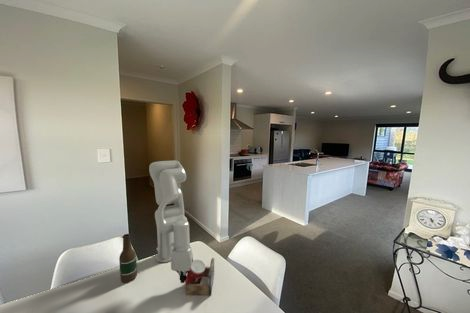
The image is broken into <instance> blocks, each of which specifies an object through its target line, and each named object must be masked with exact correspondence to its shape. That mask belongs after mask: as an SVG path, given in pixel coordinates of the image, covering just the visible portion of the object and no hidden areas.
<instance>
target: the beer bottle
mask: <svg viewBox="0 0 470 313" xmlns="http://www.w3.org/2000/svg"><path fill="white" fill-rule="evenodd" d="M121 238H122V251H121V253H120V254H119V258H118V259H119V261H118V262H119V273H120V275H119V276H120V280H121V283H122V284H123V283H124V284H127V283H130V282H133V281H134V280H135V279H136V277H137V275H138V268H137V267H138V266H137V264H138V263H137V253H136V252H135V250H134V249H133V248H132V242H131V234H130V233H126V234H123V235H122V237H121Z"/></svg>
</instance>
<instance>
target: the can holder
mask: <svg viewBox="0 0 470 313" xmlns="http://www.w3.org/2000/svg"><path fill="white" fill-rule="evenodd" d="M202 278H207V280H208V281H207V283H200V284H186V285H185V296H186V297H187V296H191V297H192V296H204V297H205V296H208V297H210V296H212V294H213V285H214V280H215V258H214V257H212V258H211V260H210V265H209V266H205V271H204V274H203V277H202Z"/></svg>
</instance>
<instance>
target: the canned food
mask: <svg viewBox="0 0 470 313" xmlns="http://www.w3.org/2000/svg"><path fill="white" fill-rule="evenodd" d="M205 267H206V264H205V263H204V261H203V260H200V259H193V261H192V266H191V267H190V271H188V273H187V274H186V280H185V282H184V284H185V286H186V284H201V283H202V279H203V278H204V277H203V274H204V271H205Z"/></svg>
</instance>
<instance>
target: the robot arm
mask: <svg viewBox="0 0 470 313" xmlns="http://www.w3.org/2000/svg"><path fill="white" fill-rule="evenodd" d="M148 170H149V175H150V177H151V179H152V181H153V184H154V194H155V201H156V202H155V203H156V204H157V205H158V208H157V209H156V210H155V212H154V219H155V225H156V233H157V234H156V235H157V247H156V249H155V250H156V251H157V253H156V255H155V260H156V261H157V262H158V263H169V262H170V269H171V270H172V271H175V272H176V273H177V274H178V276H179V280H180V284H185V280H186V276H187V273H188V271H190V267H191V266H192V261H193V260H194V254H193V249H192V247H191V245H190V244H191V243H190V222H189V221H188V218H187V217H186V216H185V205H184V204H185V203H184V195H183V192H182V190H181V188H179V187H178V183H184V182H186V180H187V172H186V171H185V168H184V167H183V165H182V164H181V163H180V161H178V160H162V161H161V160H159V161H154V162H152V163H150V164H149V169H148ZM171 204H174V205H171ZM167 205H168V206H167Z"/></svg>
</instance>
